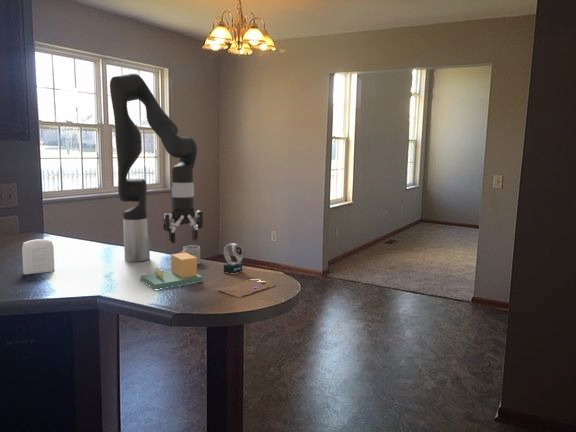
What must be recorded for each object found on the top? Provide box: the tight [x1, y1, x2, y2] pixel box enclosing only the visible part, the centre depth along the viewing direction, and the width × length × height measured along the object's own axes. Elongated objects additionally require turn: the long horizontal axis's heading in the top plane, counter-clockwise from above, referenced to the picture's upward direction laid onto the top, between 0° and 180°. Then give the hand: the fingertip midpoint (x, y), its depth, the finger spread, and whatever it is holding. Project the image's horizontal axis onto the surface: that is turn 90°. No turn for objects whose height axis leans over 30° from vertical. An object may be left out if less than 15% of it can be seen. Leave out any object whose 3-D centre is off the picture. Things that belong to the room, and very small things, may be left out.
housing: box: [170, 252, 198, 278], centre depth 169 cm, size 6×9×6 cm, turn 36°
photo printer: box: [21, 238, 55, 275], centre depth 175 cm, size 10×4×12 cm, turn 123°
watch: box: [223, 242, 245, 274], centre depth 180 cm, size 6×8×11 cm
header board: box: [141, 267, 203, 290], centre depth 167 cm, size 17×13×5 cm
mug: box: [179, 244, 201, 265], centre depth 191 cm, size 10×7×7 cm
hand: (183, 241), depth 168 cm, fingers open, 7 cm apart
